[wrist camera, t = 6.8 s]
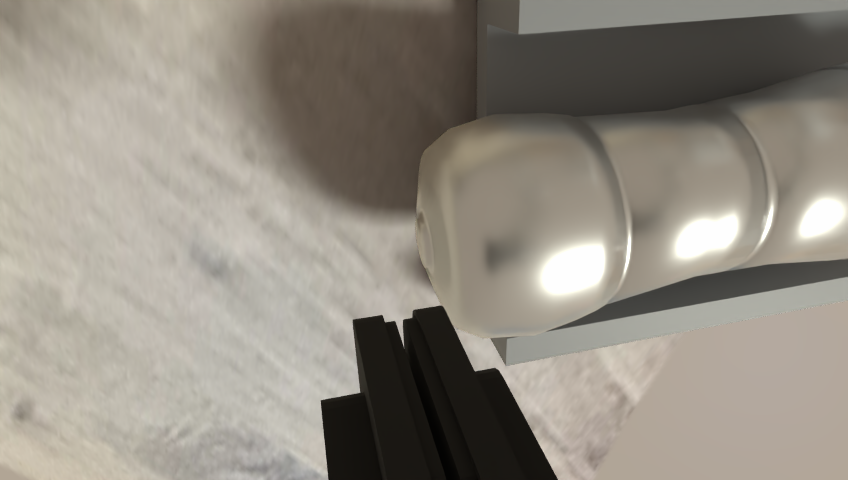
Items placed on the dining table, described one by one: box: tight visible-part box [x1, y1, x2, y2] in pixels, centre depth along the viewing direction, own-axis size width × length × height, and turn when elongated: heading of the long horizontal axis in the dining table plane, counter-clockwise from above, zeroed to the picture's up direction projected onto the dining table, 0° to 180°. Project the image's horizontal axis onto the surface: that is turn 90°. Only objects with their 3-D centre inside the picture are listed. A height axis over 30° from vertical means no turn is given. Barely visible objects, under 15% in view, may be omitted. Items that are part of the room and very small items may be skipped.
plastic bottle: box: [415, 63, 848, 338], centre depth 18 cm, size 6×7×20 cm
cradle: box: [477, 0, 848, 366], centre depth 20 cm, size 12×19×4 cm, turn 92°
